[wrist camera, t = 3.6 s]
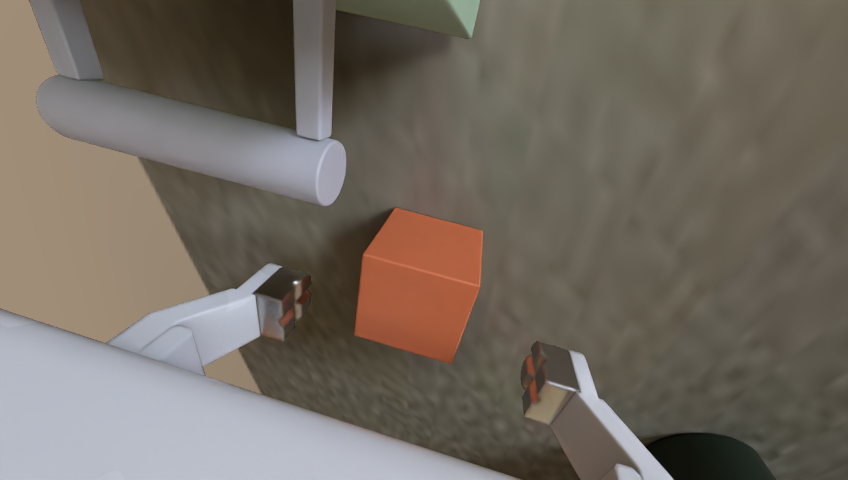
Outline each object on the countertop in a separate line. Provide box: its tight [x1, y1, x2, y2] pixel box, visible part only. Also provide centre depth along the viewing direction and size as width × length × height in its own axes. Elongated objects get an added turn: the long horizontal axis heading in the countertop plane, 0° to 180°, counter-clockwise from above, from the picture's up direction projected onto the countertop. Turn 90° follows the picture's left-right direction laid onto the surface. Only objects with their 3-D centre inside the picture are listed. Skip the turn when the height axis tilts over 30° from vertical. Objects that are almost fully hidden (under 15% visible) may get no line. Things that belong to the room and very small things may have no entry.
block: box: [354, 208, 483, 363], centre depth 13 cm, size 4×4×4 cm
